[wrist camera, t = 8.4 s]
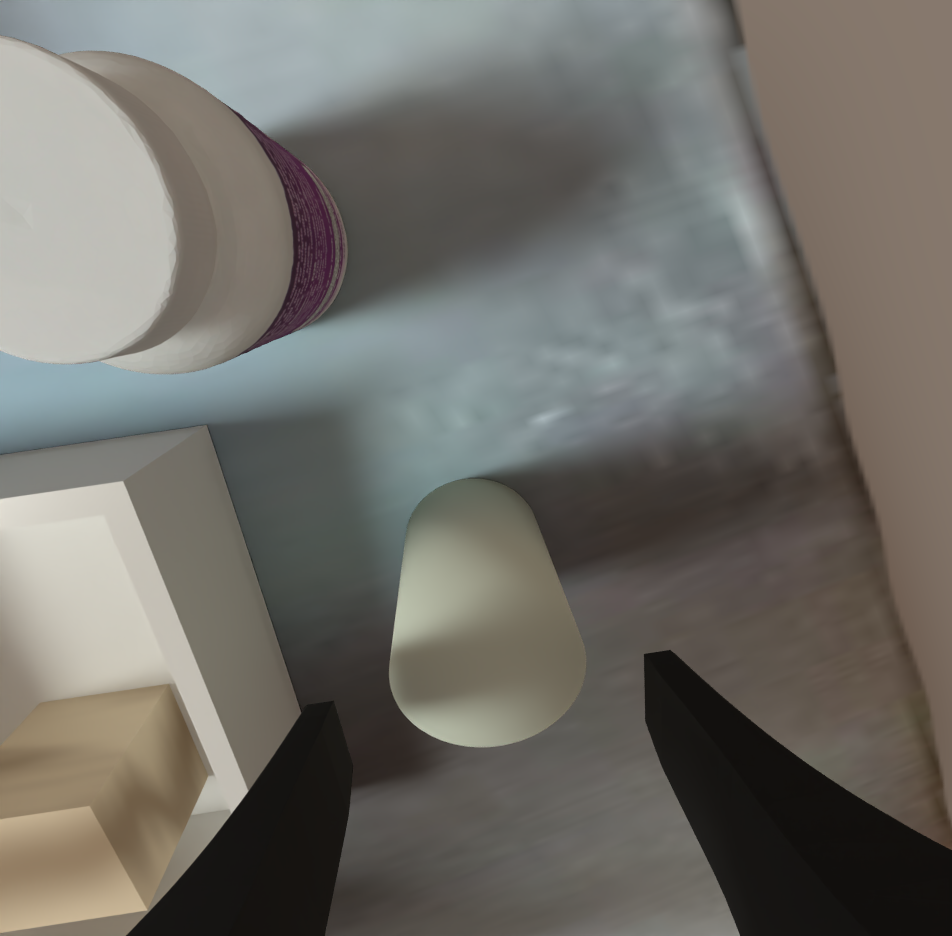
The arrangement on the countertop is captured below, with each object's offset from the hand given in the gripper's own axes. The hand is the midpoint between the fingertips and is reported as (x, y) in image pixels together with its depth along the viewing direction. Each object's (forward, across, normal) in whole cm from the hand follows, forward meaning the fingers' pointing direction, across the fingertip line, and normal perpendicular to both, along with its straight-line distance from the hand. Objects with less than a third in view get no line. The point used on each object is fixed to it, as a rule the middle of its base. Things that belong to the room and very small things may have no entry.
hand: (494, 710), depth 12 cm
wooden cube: (+8, +15, +6) cm, 18 cm away
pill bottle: (+8, +5, -11) cm, 15 cm away
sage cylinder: (+8, 0, 0) cm, 8 cm away
